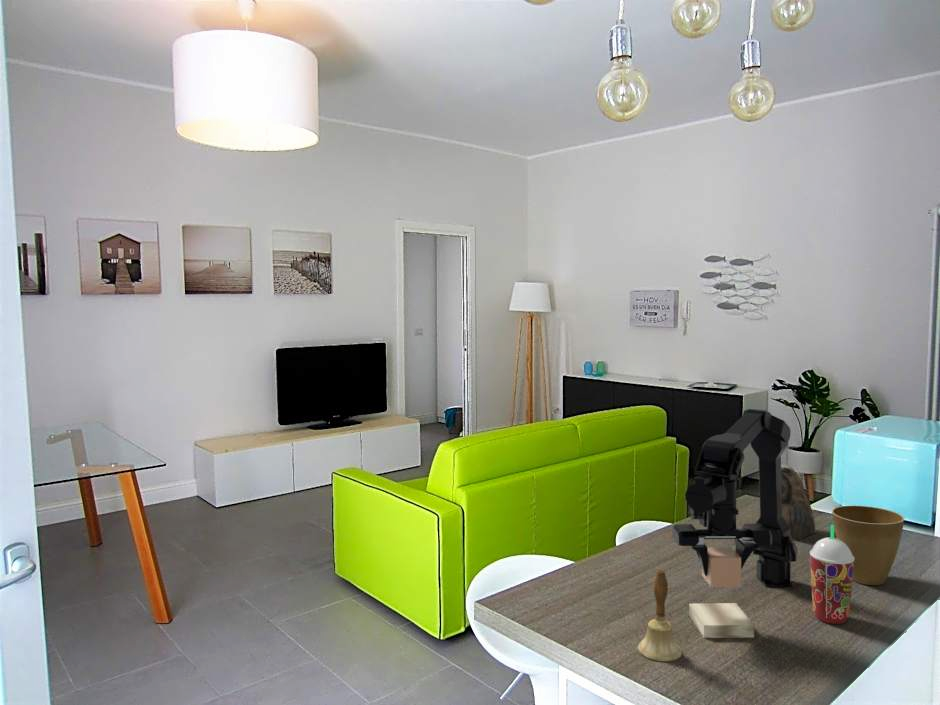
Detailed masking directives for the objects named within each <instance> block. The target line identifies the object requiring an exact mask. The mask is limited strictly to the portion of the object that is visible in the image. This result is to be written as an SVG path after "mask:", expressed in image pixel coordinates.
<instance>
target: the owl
mask: <svg viewBox="0 0 940 705" xmlns="http://www.w3.org/2000/svg"><path fill="white" fill-rule="evenodd" d="M781 487H782V516H783V518H784V519H785V521H786V522H787V524H788V525H789V527H790V534H791V537H792V539H793V541H799V540H800V539H805V537H808V536H811V535H813V534H815V533H816V530H815V529H816V523H815V518H814V514H813V509H812V506H811V504H810V500H809V498H808V495H807V492H806V489H805V486H804V484H803V480H802V478H801V477H800V476H799V475H798V473H797V472H796V471H795V469H793V467H792V466H789V465H788V464H787V463H783V462H781Z"/></svg>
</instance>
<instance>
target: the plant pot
mask: <svg viewBox="0 0 940 705" xmlns="http://www.w3.org/2000/svg"><path fill="white" fill-rule="evenodd" d="M831 514H832V516H831V517H832V520H833V525H834V534H835V538H836V539H839V540H841V541H843V542H844V543H845V544H846V545H847V546H848V547H849V549H850V550H851V553H852V555H853V556H854V557H855V559H854V567H853V578H852V582H853V581H854V582H855V583H859V584H862V585H867V586H881V585H883V584H885V583H886V580H887V578H888V576H889V574H890V572H891V570H892V567H893V565H894V562H895V559H896V557H897V553H898V549H899V546H900V542H901V539H902V535H903V530H904V523H905V517H904V516H903V515H902V514H901V513H899V512H896V511H892V510H890V509H886V508H882V507H875V506H866V505H840V506H836V507H834V508H833V509H832V510H831Z"/></svg>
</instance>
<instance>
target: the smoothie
mask: <svg viewBox="0 0 940 705" xmlns="http://www.w3.org/2000/svg"><path fill="white" fill-rule="evenodd" d="M854 559H855V557H854V556H853V555H852V553H851V550H850V549H849V547H848V546H847V545H846V544H845V543H844V542H843V541H841V540H839V539H837V538H836V537H835V528H834V524H831V525H830V537H823V538H821V539H819V540H817V541H816V542H815V543H814V545H813V547H812V549H810V550H809V561H810V580H811V581H810V584H811V597H812V598H811V599H812V600H811V601H812V611H813V612H814V614H815V617H816V618H817V619H818V620H820V621H822V622H824V623H827V624H832V625H833V624H834V625H841V624H844V623H845V622H847V618H849V617H850V609H851V608H850V607H851V599H852V598H851V597H852V587H853V586H852V585H853V580H852V578H853V567H854Z"/></svg>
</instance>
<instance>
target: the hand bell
mask: <svg viewBox="0 0 940 705" xmlns="http://www.w3.org/2000/svg"><path fill="white" fill-rule="evenodd" d="M665 572H666V571H665V570H663V569H658V570H657V572H656V576H655V578H654V583H653V592H654V597H655V601H656V602H655V603H656V606H655V618H654V619H651V620H649V622H648V623H647V629H646V634H645V636H644V638H643V639H642V640H641V641H640V642H639V643H638V645H637V650H638V652H639V654H641V656H643V657H645V658H647V659H648V660H649V659H650V660H653V661H657V662H666V663H667V662H673V661H674V662H675V661H676V660H679V659H680V658H681V657H682V656H683V651H682V648H681V647H680V646H679V644H678V643H677V641H676V640H675V636H674V633H673V626H672V625H671V623H670V622H669V621H668V620H666V619H665V616H666V613H665V611H666V610H665V604H666V603H665V602H666V599H667V596H668V588H669V585H668V580H667V577H666V573H665Z"/></svg>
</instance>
